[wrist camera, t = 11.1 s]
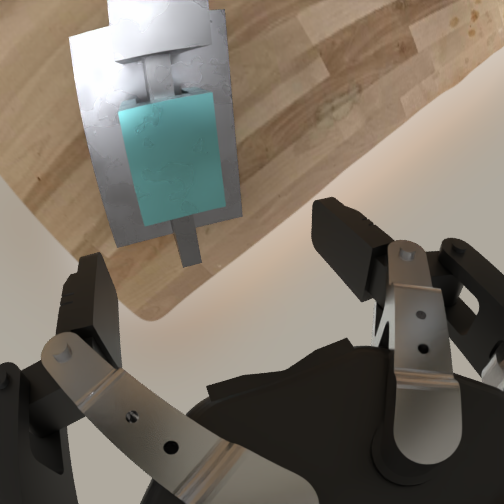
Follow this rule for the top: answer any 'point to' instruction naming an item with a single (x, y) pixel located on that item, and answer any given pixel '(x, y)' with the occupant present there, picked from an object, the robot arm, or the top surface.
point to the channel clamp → (173, 154)
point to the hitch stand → (151, 88)
